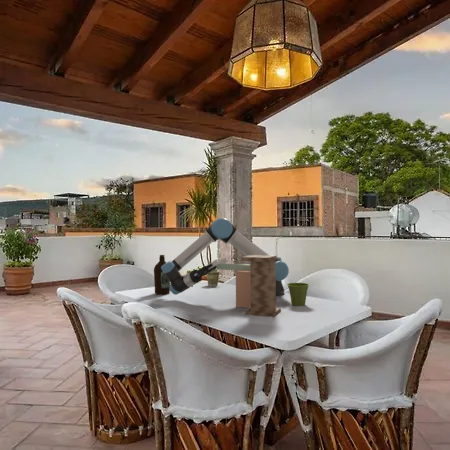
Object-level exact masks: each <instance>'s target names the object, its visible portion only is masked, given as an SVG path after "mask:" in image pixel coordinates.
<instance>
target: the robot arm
mask: <svg viewBox="0 0 450 450" xmlns="http://www.w3.org/2000/svg"><path fill="white" fill-rule="evenodd" d="M219 240H220V241H221V242H223V243H224V244H227V245H228V244H229V245H231V246H232V247H234V249H236V250H238V251H240V252H241V253H242V254H243V255H245V256H248V255H269V254H268V253H267V252H266V251H264V250H263V249H262V248H260V247H259V246H257V244H255V243H254V242H253V241H251V240H249V238H247V237H245V236H244V235H243V234H242V233H240V232H239V230H238V227H237V226H235V225H234V224H233V223H232V222H231V221H230V220H228V219H227V218H224V217H220V218H219V217H218V218H216V219H215V220H214V221H212V223H211V224H210V225H209V226H208V227H207V228H206V229H205V230H204V233H203V234H202V235H200V236H199V237H198V238H197V239H196V240H195V241H193V242H192V243H191V244H190V245H188V247H187V248H186V249H184V250H183V251H182V252H181V253H179V255H177V256H176V257H174V259H173V260H169V261H166V263H165V264H164V265H163V266H162V267H161V269H162V271H163V273H164V274H165V275H166V277H167V278H168V279H169V281H170V286H169V288H170V292H171V293H172V294H173V295H175V296H176V295H179V294H181V293H183V292H185V291H187V290H188V289H190V288H193V287H194V285H196V284H199V283H200V282H201V281H202V279H203V277H204V276H206V274H208V273H209V272H211V271H216V270H218V269H217V265H218V264H219V263H222V264H227V263H228V262H229V261H228V259H227V257H224V258H222V259H221V260H219V261H218V259H214V260H213V261H211V262H210V263H208V264H206V265H204V266H202V267H200V268H199V269H193V270H191V271H190V272H188V273H186V274H184V275H185V276H183V277H182V276H181V274H180V273H181V270H182V269H183V268H184V267H185V266H186V265H187V264H189V263H190V262H191V261H192V260H193V259H195V258H196V257H197V256H198V255H199V254H200V253H201V252H203V251H204V250H206V248H208V247H209V245H211V244H212V243H216V242H217V241H219ZM271 256H275V254H271ZM289 269H290V268H289V266H288V264H287V263H286V262H285V261H282V258H281V257H280V256H279V257H277V260H276V296H282V295H285V289H284V285H283V284H284V283H283V282H282V281H284V280H285V279H287V278H288V276H289V274H290V272H289V271H290V270H289ZM179 271H180V273H179Z"/></svg>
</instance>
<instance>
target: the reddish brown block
mask: <svg viewBox="0 0 450 450" xmlns="http://www.w3.org/2000/svg"><path fill="white" fill-rule="evenodd" d="M235 307H237V308H247V309H248V308H249V309H251V271H246V270H235Z"/></svg>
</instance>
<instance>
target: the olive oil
mask: <svg viewBox="0 0 450 450" xmlns="http://www.w3.org/2000/svg"><path fill="white" fill-rule="evenodd" d="M158 258H159V261H158V262H157V263H156V264H155V265H154V267H153V279H154V282H153V283H154V294H155V295H159V296H163V295H169V294H171V293H170V292H171V291H170V288H169V286H170V284H171V283H170V281H169V279H168V278H167V277H166V275H165V274H164V273H163V271H162V269H161V267H162V266H163V265H164V264H165V263H167V261H165V260H166V259H165V254H159V257H158Z"/></svg>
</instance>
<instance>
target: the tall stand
mask: <svg viewBox="0 0 450 450" xmlns="http://www.w3.org/2000/svg"><path fill="white" fill-rule="evenodd" d="M271 255H272V254H271ZM271 255H270V254H268V255H248V256H246V255H245V256H241V258H240V260H241V262H250V264H251V308H249V309H248V310H246V311H245V315H246V316H254V317H255V316H256V317H257V316H258V317H270V318H274V317H276V316H277V315H278V314H279V313H280V312H281V311H282V308H281V307H277V295H276V260H277V255H274V256H271Z"/></svg>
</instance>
